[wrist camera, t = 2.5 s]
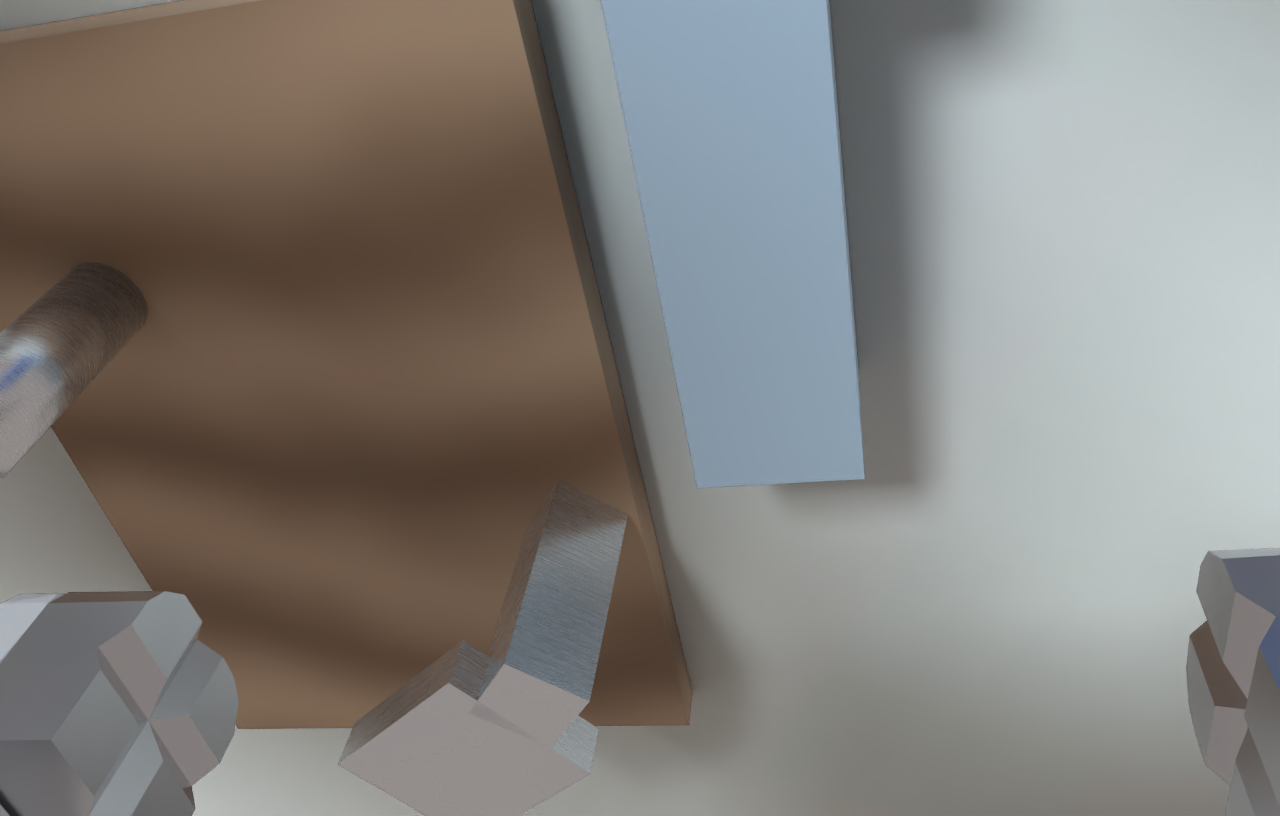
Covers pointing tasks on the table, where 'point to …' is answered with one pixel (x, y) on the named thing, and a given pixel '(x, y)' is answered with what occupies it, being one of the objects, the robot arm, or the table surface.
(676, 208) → the link
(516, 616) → the pintle keeper
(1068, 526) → the table surface
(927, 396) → the table surface
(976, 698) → the table surface
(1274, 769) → the robot arm
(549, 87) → the base board
